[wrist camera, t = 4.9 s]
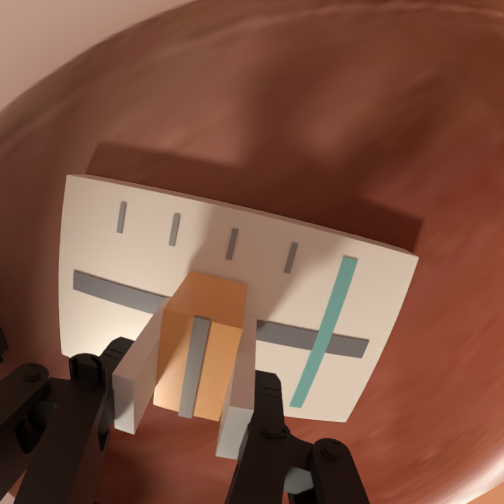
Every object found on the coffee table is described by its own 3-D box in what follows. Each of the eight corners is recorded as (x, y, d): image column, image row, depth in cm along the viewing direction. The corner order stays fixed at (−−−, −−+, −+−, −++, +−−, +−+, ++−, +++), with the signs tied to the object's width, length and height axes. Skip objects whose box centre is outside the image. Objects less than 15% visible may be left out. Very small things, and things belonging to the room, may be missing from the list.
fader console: (340, 404, 20) (345, 423, 18) (75, 340, 20) (61, 354, 18) (404, 248, 17) (419, 257, 15) (84, 173, 17) (65, 174, 15)
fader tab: (227, 365, 17) (217, 424, 12) (176, 352, 17) (152, 408, 12) (248, 282, 16) (243, 328, 11) (190, 268, 16) (162, 308, 11)
